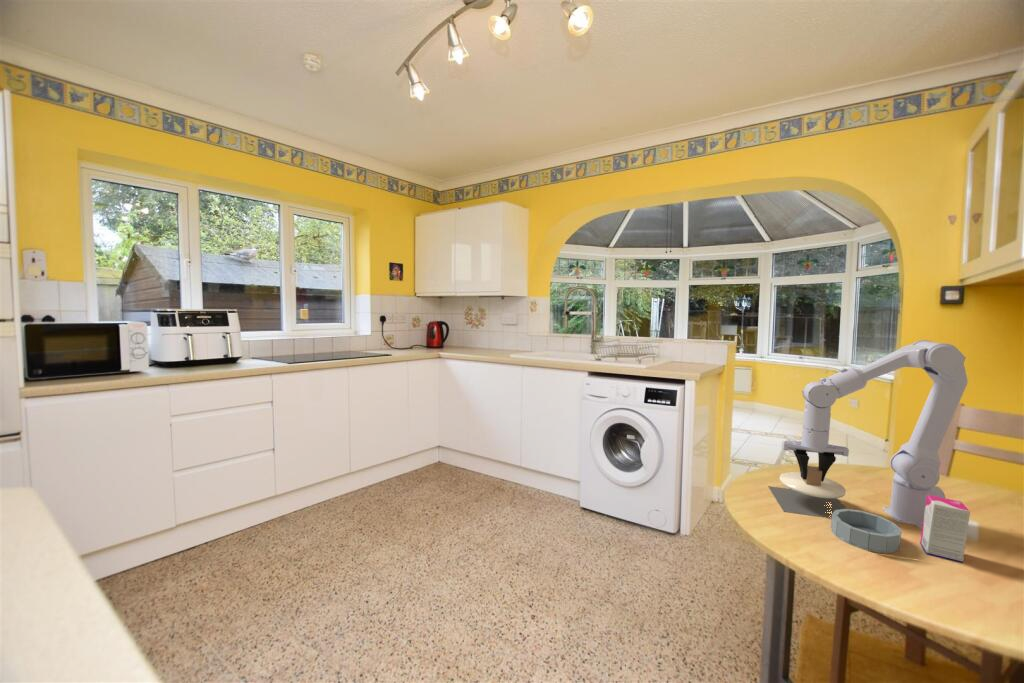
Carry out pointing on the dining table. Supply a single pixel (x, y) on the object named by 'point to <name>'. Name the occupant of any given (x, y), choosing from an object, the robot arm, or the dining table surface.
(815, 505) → the mat
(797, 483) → the lid
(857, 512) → the bowl
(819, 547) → the dining table surface
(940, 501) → the supplement box
